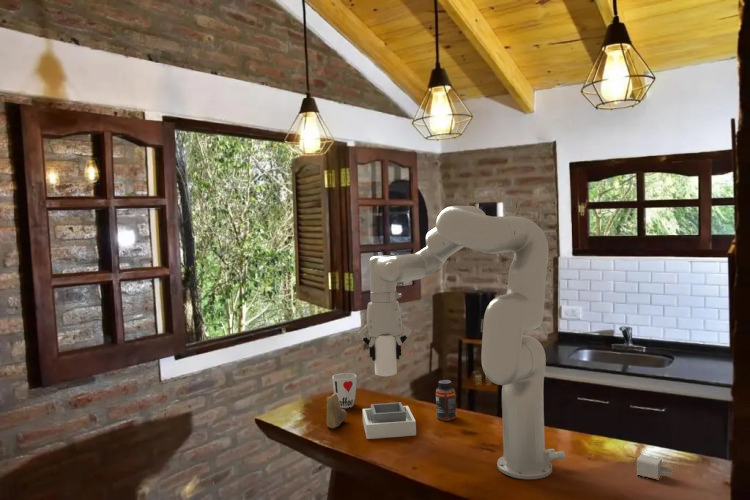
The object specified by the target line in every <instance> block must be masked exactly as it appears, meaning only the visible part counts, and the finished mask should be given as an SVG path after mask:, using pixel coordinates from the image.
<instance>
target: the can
mask: <svg viewBox="0 0 750 500" xmlns="http://www.w3.org/2000/svg"><path fill="white" fill-rule="evenodd" d="M374 347H375V361H374V374H375V375H376V376H377V377H381V378H388V377H389V378H391V377H393V376H396V375H397V373H398V365H397V364H398V361H397V360H398V359H397V357H396V339H395V337H393V336H392V335H379V337H377V338H376V339H375V342H374Z"/></svg>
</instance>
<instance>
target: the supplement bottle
mask: <svg viewBox="0 0 750 500" xmlns="http://www.w3.org/2000/svg"><path fill="white" fill-rule="evenodd" d="M452 384H453V383H452V381H451V380H450V379H443V380H439V381H438V387H437V388H436V389H435V401H436V402H435V403H436V404H435V405H436V418H437V419H438V420H440V421H443V422H444V421H445V422H450V421H453V420H455V419H456V418H457V404H456V403H457V400H456V390H455V388H454V387H453V385H452Z"/></svg>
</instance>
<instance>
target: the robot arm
mask: <svg viewBox="0 0 750 500" xmlns="http://www.w3.org/2000/svg"><path fill="white" fill-rule="evenodd" d="M548 243H549V242H548V239H547V237H546V233H544V231H543V230H542V228H541V227H540V226H539V224H537V223H535V222H534V221H532V220H531V219H528V218H526V217H523V216H517V215H516V216H515V215H510V216H509V215H508V216H503V215H502V216H491V215H486V212H485V211H483V210H482V209H481V208H479V207H477V206H473V205H450V206H447V207H445V208H444V209H443V210H441V212H439V213H438V216H437V218H436V222H435V227H433V228H432V229H430V230H429V231H427V233H426V234H425V245H426V246H425V247H423V248H422V249H420V250H419V251H417V252H415V253H408V254H397V255H385V254H383V255H380V254H379V255H374V256H371V257H370V258H369V260H368V261H369V262H368V264H369V267H368V268H369V287H370V291H369V292H370V301H369V302H368V303H367V309H366V324H365V325H364V326H363V327H362V328H361V329H360V330H359V331H358V332H357V336H358V337H359V338H360V339H361V340H362V341H363V342H364V343H365V344H366V345H367V346H368V347H369V350H368V352H369V354H368V355H369V358H371V360H372V361H373V362H375V347H374V342H375V339H376V338H377V337H379V335H392V336H393V337H395V339H396V357H397V360H400V357H401V356H402V345H403V344H404V342H405V341H406V340H407V339H408V338H409V337H410V335H411V334H412V330H411V329H410V328H409V327H407V326H406V325H405V324H404V323H403V322H402V312H401V307H400V303H399V301H398V299H400V298H401V299H402V293H401V292H397V283H403V282H409V281H410V282H411V281H417V280H421V279H424V278H426V277H427V276H429V275H431V274H432V273H434V272H436V271H438V269H440V268H441V267H442V266H443V265H444V264H445V262H446V261H447V260H448V258H449V257H451V256H452V255H454V254H455V253H456V252H459V251H460V250H462V249H463V248H468V249H472V250H473V251H477V252H481V253H485V254H489V255H490V254H493V255H494V254H495V255H496V254H504V253H505V254H506V253H513V259H512V262H511V264H510V266H509V270H508V275H507V277H508V280H507V288H506V294H505V293H504V294H502V295H497V296H496V297H494V298H493V299H492V300H491V301H489V304H488V305H487V306H486V309H485V312H484V315H483V325H482V339H481V354H480V357H481V366H482V367H481V368H482V370H483V374H484V375H485V377H486V378H487V379H488V380H489V381H490V382H492V383H493V384H496V385H499V386H502V388H501V408H502V409H501V410H502V411H501V412H502V413H501V415H502V417H501V418H502V442H503V443H502V444H503V448H502V449H503V455H502V456H500V457H499V458H498V459H497V463H496V465H497V469H498V470H499V471H500V472H501V473H502V474H504V475H506V476H508V477H511V478H515V479H519V480H538V479H544V478H546V477H548V476H550V475H551V473H552V472H553V465H552V463H553V462H554V461H563V460H566V453H565V451H564V450H561V451H559V450H558V451H556V449H555V448H548V449H547V448H546V447H545V446H546V445H545V415H544V414H545V412H544V405H545V404H544V402H545V401H544V381H545V373H546V363H547V359H546V352H545V349H544V347H543V345H542V343H541V342H540V341H539V340H538V339H537V338H536V337H533V336H531V335H525V334H526V333H528V332H531V331H533V330H535V329H538V328H539V327H540V325H541V324H542V322H543V320H544V315H545V313H544V312H545V301H546V300H545V299H546V289H547V288H546V287H547V274H548V273H547V272H548V261H549V244H548ZM403 331H404V333H403ZM366 333H367V335H368V337H369V338H368V337H366V336H365V334H366Z"/></svg>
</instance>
